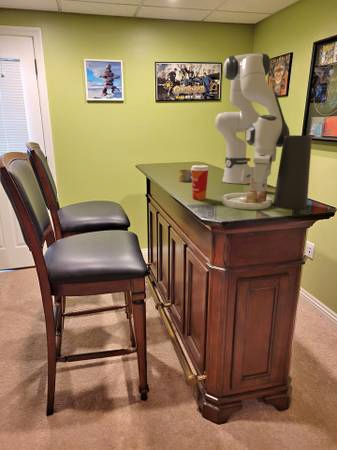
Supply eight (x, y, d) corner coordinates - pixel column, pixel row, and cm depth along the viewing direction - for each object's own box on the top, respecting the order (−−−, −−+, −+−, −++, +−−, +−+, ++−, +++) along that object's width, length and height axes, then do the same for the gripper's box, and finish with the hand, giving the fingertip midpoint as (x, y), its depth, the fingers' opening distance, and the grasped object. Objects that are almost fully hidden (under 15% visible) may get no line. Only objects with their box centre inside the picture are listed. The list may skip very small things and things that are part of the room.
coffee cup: (188, 196, 160) (189, 165, 155) (206, 196, 160) (207, 164, 156) (191, 200, 152) (192, 167, 147) (209, 200, 153) (210, 167, 148)
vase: (288, 210, 136) (297, 137, 127) (266, 203, 148) (273, 135, 139) (313, 207, 141) (323, 136, 132) (290, 200, 153) (298, 134, 144)
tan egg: (244, 203, 143) (245, 192, 142) (254, 203, 144) (255, 191, 142) (247, 206, 139) (248, 194, 138) (257, 205, 140) (258, 194, 138)
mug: (179, 182, 196) (179, 170, 194) (177, 180, 203) (178, 169, 201) (199, 182, 197) (199, 170, 195) (197, 180, 204) (197, 169, 202)
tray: (244, 196, 161) (245, 191, 161) (281, 204, 145) (281, 199, 144) (212, 202, 150) (212, 196, 149) (248, 212, 134) (248, 206, 133)
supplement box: (266, 191, 172) (268, 165, 168) (265, 193, 168) (268, 166, 164) (249, 190, 175) (251, 164, 171) (248, 192, 171) (250, 166, 167)
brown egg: (256, 201, 147) (257, 189, 146) (266, 202, 146) (267, 190, 144) (255, 203, 144) (255, 191, 142) (265, 204, 142) (266, 192, 141)
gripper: (261, 153, 149) (258, 183, 154) (252, 159, 132) (249, 193, 136) (276, 154, 147) (272, 185, 151) (268, 159, 129) (265, 194, 134)
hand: (261, 189), depth 144 cm, fingers open, 8 cm apart
